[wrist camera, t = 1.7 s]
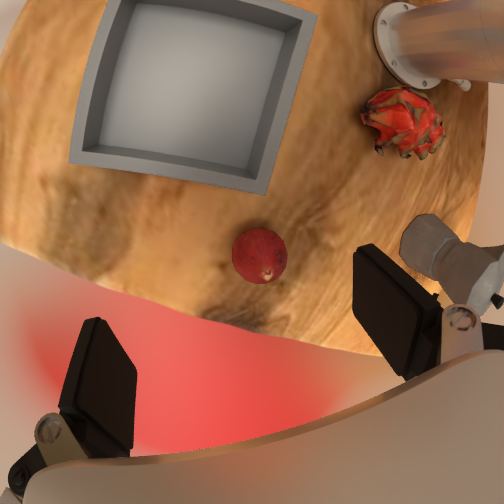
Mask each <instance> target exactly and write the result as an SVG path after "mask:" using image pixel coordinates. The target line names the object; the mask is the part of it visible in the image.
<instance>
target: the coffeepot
mask: <svg viewBox="0 0 504 504" xmlns="http://www.w3.org/2000/svg"><path fill="white" fill-rule="evenodd" d="M400 256H401V257H402V259H403V260H404V261H405V263H406V264H407V265H408V267H410V268H412V269H414V270H416V271H418V272H419V273H421V274H423V275H425V276H427V277H428V278H430V279H432V280H434V281H438V282H439V284H440V285H441V287H442V288H443V290H444V291H445V292H446V294H447V295H448V296H449V297H450V299H451V300H452V301H453V303H454V304H464V305H467V306H469V307H472V308H473V309H474V310H475V311H476V312H477V313H478V315H479V317H480V316H482V315H483V314H484V313H485V312H486V310H487V309H488V308H489V307H490V305H491V303H493V304H494V306H495V307H496V309H499V308H500V307H501V306H502V305H503V302H504V298H503V297H501V296H499V295H498V294H499V292H500V289H501V287H502V284H503V282H504V245H501V246H495V247H482V248H481V247H478V246H476V245H474V244H472V243H469V242H466V243H463V242H462V241H460V239H459V238H458V236H457V235H456V234H455V233H454V232H453V231H452V230H451V229H450V228H449V227H448V226H446V225H445V224H444V223H443V222H442V221H441V220H440V219H439V218H438V217H437V216H436V215H435V214H424V215H420V216H417V217H416V218H415V219H414V220H413V221H412V222H411V223H410V224H409V225H408V227H407V228H406V230H405V232H404V233H403V236H402V239H401V243H400ZM432 296H433V297H434V298H435V299H436V300H437V298H438V296H439V294H436V293H434V294H433V295H432Z"/></svg>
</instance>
